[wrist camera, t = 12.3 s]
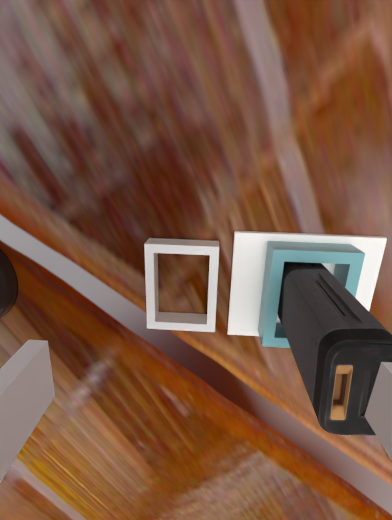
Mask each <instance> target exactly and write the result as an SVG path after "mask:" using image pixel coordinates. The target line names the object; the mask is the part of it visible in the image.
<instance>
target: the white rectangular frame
mask: <svg viewBox="0 0 392 520" xmlns="http://www.w3.org/2000/svg"><path fill="white" fill-rule="evenodd" d="M144 249H145V280H146V310H147V328H148V329H165V330H183V331H202V332H215V318H216V300H217V281H218V263H219V241H211V240H186V239H161V238H149V239H148V240H147V241H146V242H145V244H144ZM158 253H169V254H192V255H210V262H209V285H208V308H207V314H195V313H175V312H159V300H158Z"/></svg>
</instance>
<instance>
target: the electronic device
mask: <svg viewBox="0 0 392 520" xmlns="http://www.w3.org/2000/svg"><path fill="white" fill-rule="evenodd" d="M277 314H278V317H279V319H280V322H281V324H282V327H283V329H284V332H285V335H286V337H287V340H288V343H289V345H290V348H291V350H292V353H293V356H294V358H295V361H296V364H297V366H298V369H299V371H300V374H301V377H302V379H303V382H304V384H305V387H306V390H307V392H308V395H309V398H310V400H311V403H312V405H313V408H314V411H315V413H316V416H317V419H318V421H319V424H320V426H321V427H322V428H323V429H324V430H325V431H327V432H329V433H333V434H340V435H376V434H375V433H374V431H373V429H372V428H371V426H370V424H369V423H368V421H367V419H366V418H365V413H366V409H367V406H368V403H369V400H370V397H371V393H372V390H373V387H374V384H375V381H376V377H377V374H378V371H379V368H380V365H381V362H392V335H391V334H390V333H389V332H388V331H387V330H386V329H385V328H384V327H383V326H382V324H381V323H380V322H379V321H378V320H377V319H376V318H375V317H374V316H373V315H372V314H371V313H370V312H369V311H368V310H367V309H366V308H365V307H364V306H363V305H362V304H361V303H360V302H359V301H358V300H357V299H356V298H355V297H354V296H353V295H352V294H351V293H350V292H349V291H348V290H347V289H346V288H345V287H344V286H343V285H342V284H341V283H340V282H339V281H338V280H337V279H336V278H335V277H334V276H333V275H332V274H331V273H330V272H329V270H328V269H327V268H326V267H325V266H324V265H323V264H322V263H307V262H284V267H283V275H282V282H281V290H280V298H279V305H278V313H277Z"/></svg>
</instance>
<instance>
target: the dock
mask: <svg viewBox="0 0 392 520" xmlns="http://www.w3.org/2000/svg"><path fill="white" fill-rule="evenodd" d="M386 241H387V238H386V237H383V236H362V235H336V234H310V233H284V232H258V231H234V244H233V258H232V272H231V286H230V300H229V315H228V329H227V333H228V334H229V335H248V336H260V340H261V344H262V346H266V347H284V348H290V345H289V343H288V340H287V337H286V335H285V332H284V329H283V327H282V324H281V322H280V319H279V317H278V314H277V313H278V305H279V298H280V290H281V282H282V275H283V267H284V262H307V263H322V264H323V265H324V266H325V267H326V268H327V269H328V270H329V272H330V273H331V274H332V275H333V276H334V277H335V278H336V279H337V280H338V281H339V282H340V283H341V284H342V285H343V286H344V287H345V288H346V289H347V290H348V291H349V292H350V293H351V294H352V295H353V296H354V297H355V298H356V299H357V300H358V301H359V302H360V303H361V304H362V305H363V306H364V307H365V308H366V309H367V310H368V311H369V310H370V306H371V301H372V297H373V293H374V289H375V285H376V281H377V277H378V273H379V269H380V265H381V261H382V257H383V253H384V249H385V245H386Z"/></svg>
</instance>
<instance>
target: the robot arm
mask: <svg viewBox="0 0 392 520" xmlns="http://www.w3.org/2000/svg"><path fill="white" fill-rule="evenodd" d="M17 291H18V286H17V279H16V275H15V272H14V270H13V267H12V265H11V264H10V262H9V260H8V259H7V257H6V256H5V255H4V254H3V253H2V251H1V250H0V318H1V317H2V316H3V315H5V314H6V313H7V312H8V311H9V310H10V309H11V308H12V306H13V305H14V303H15V300H16V297H17ZM54 397H55V391H54V384H53V376H52V369H51V362H50V354H49V347H48V341H43V340H28V341H27V342H26V343H25V344H24V345H23V346H22V347H21V348H20V349H19V350H18V351H17V352H16V353H15V354H14V355H13V356H12V357H11V358H10V359H9V360H8V361H7V362H6V363H5V364H4V365H3V366H2V367H1V368H0V482H1V481H2V479H3V477H4V476H5V474H6V473H7V471H8V470H9V468H10V466H11V465H12V463H13V462H14V460H15V459H16V457H17V455H18V454H19V452H20V451H21V449H22V447H23V446H24V444H25V443H26V441H27V440H28V438H29V436H30V435H31V433H32V432H33V430H34V428H35V427H36V425H37V424H38V422H39V421H40V419H41V417H42V416H43V414H44V413H45V411H46V409H47V408H48V406H49V405H50V403H51V402H52V400H53V398H54ZM365 418H366V419H367V421H368V423H369V424H370V426H371V428H372V429H373V431H374V433H375V434H376V436H377V437H378V439H379V441H380V442H381V444H382V446H383V447H384V449H385V451H386V452H387V454H388V455H389V457H390V459H391V460H392V362H381V365H380V368H379V371H378V374H377V377H376V381H375V384H374V387H373V390H372V393H371V397H370V400H369V403H368V406H367V409H366V413H365Z"/></svg>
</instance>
